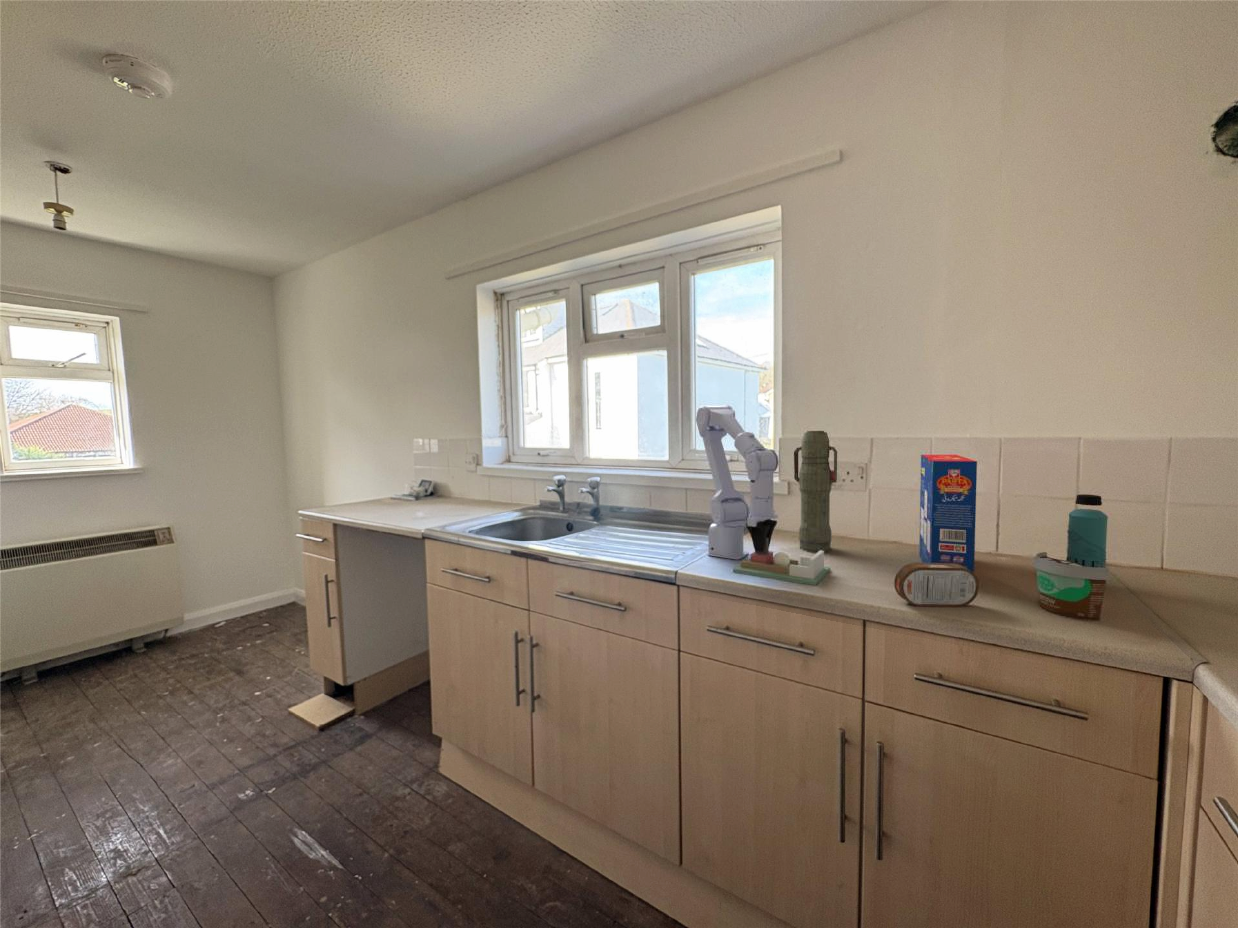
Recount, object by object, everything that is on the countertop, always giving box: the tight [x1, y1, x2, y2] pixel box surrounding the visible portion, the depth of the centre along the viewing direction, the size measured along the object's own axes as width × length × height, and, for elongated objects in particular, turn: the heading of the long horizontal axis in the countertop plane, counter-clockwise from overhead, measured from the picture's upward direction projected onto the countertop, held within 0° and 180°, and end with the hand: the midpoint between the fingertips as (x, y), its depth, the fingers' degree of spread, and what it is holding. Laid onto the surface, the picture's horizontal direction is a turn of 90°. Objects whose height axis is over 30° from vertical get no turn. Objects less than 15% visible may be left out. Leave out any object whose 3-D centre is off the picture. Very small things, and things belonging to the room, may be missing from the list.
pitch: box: [732, 558, 831, 586], centre depth 121 cm, size 20×14×2 cm
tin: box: [893, 562, 980, 608], centre depth 96 cm, size 15×3×8 cm, turn 84°
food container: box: [1031, 551, 1111, 622], centre depth 91 cm, size 12×6×10 cm, turn 5°
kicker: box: [749, 538, 774, 564], centre depth 124 cm, size 4×6×7 cm
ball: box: [773, 551, 791, 567], centre depth 121 cm, size 4×4×4 cm
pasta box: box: [918, 454, 978, 574], centre depth 119 cm, size 28×8×28 cm, turn 153°
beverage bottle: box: [1065, 493, 1109, 568], centre depth 106 cm, size 6×7×20 cm
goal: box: [789, 550, 825, 579], centre depth 117 cm, size 6×10×4 cm, turn 144°
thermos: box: [793, 430, 838, 553], centre depth 142 cm, size 9×12×35 cm
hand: (761, 549), depth 124 cm, fingers open, 3 cm apart
